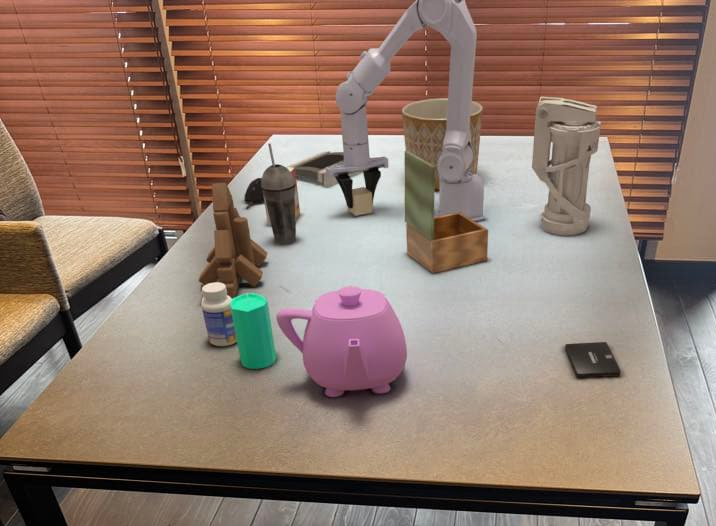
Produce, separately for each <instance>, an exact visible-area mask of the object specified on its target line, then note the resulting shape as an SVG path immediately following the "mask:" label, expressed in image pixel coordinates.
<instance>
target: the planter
mask: <svg viewBox="0 0 716 526" xmlns="http://www.w3.org/2000/svg"><path fill="white" fill-rule="evenodd" d="M447 107H448V97H443V98H442V97H441V98H429V99H422V100H421V99H420V100H417V101H414V102H410V103H408V104H406V105H404V106H403V107H402V109H401V116H402V117H401V118H402V127H403V138H404V146H405V147H404V148H405V151H409V152H410V153H412V154H414V155H416V156H417V157H419V158H421V159H423V160H424V161H426V162H428V163H430V164H431V165H433V166H435V191H440V178H439V176H440V174H439V172H438V169H437V163H438V159H439V157H440V156H441V154H442V150H443V142H444V138H445V133H446V123H447ZM483 110H484V107H483V105H482V104H480V103H479V102H477V101H474V100H472V103H471V116H470V132H471V144H472V147H473V150H474V159H473V162H472V164H471V165H470V166H469V168H470V170H471V173H472V174H477V175H478V165H479V155H480V143H481V133H482V132H481V131H482V121H483Z"/></svg>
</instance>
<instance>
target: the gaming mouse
mask: <svg viewBox="0 0 716 526" xmlns="http://www.w3.org/2000/svg"><path fill="white" fill-rule="evenodd" d="M244 202H245V203H248V205H247V206H246V208H245V209H246V210H248V209H249V208H250V207H252V205H253V204H263V203H265V202H264V195H263V192H262V189H261V177H257V178H255V179H253V180H251V182H250V183H249V184H248V186H247V188H246V190H245V194H244Z"/></svg>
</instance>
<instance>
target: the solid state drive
mask: <svg viewBox="0 0 716 526" xmlns="http://www.w3.org/2000/svg"><path fill="white" fill-rule="evenodd" d="M564 349H565V352H566V354H567V357H568V360H569V361H570V364H571V367H572V369H573V372H574V374H575V377H576V378H580V379H581V378H583V377H602V376H609V377H619V376H621V369H620V367H619V365H618V362H617V360H616V359H615V357H614V355H613V352H612V350H611V349H610V347H609V345H608V343H607V342H606V341H598V342H597V341H596V342H579V343H577V342H576V343H566V344H565V345H564Z"/></svg>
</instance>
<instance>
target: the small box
mask: <svg viewBox="0 0 716 526" xmlns="http://www.w3.org/2000/svg"><path fill="white" fill-rule="evenodd" d="M285 167H286V168H287V169H288V170H289V171H290V172H291V174H292V175H293V178H294V181H295V184H296V186H295V196H294V197H295V221H296V220H297V219H298V218H299V217H300V216H301V209H300V198H299V191H298V182H297V176H296V172H295V168H294V167H287V166H285ZM260 178H261V180H262V176H261V177H260ZM263 203H264V207H265V208H264V209H265V215H266V221H267V226H271V222H270V217H269V213H268V209H267V204H266V200H265V197H264V202H263Z"/></svg>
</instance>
